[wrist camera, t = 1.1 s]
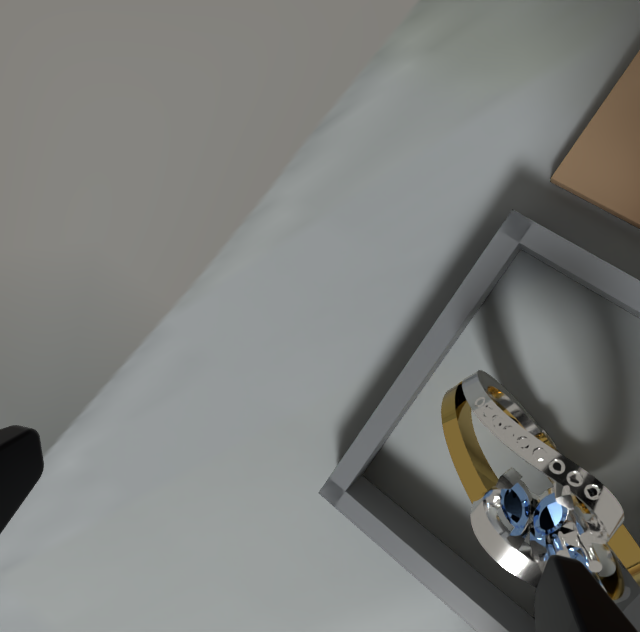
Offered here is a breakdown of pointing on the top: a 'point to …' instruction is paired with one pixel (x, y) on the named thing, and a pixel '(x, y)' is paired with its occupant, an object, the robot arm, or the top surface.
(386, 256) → the top surface
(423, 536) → the bin
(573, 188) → the pad
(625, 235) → the top surface
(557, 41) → the top surface
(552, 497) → the ring
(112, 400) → the top surface
